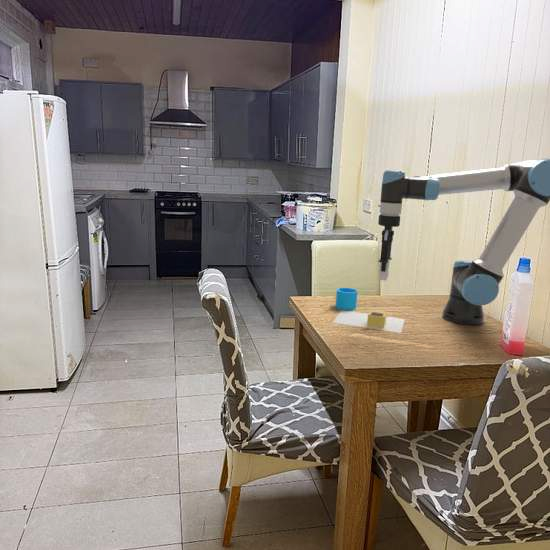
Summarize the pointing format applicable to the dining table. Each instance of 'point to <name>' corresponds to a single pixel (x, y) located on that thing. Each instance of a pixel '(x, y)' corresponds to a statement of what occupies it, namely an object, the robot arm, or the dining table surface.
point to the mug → (346, 298)
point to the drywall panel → (362, 318)
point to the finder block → (376, 319)
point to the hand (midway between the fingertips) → (383, 278)
